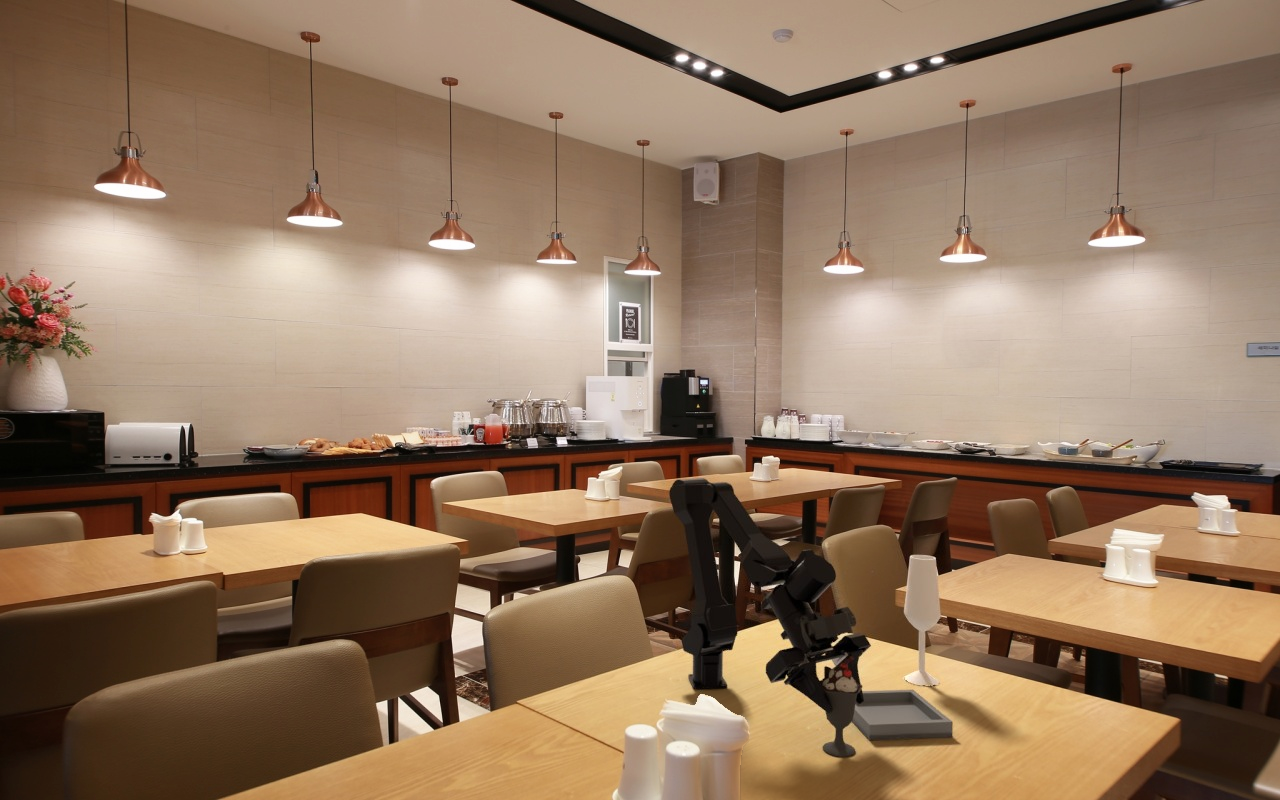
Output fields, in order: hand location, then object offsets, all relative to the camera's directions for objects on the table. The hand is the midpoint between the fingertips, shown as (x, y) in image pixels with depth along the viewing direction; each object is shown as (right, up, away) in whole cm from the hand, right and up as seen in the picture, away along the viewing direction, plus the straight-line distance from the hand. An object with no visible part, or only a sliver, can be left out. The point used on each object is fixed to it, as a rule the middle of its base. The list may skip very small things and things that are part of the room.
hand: (846, 707), depth 119 cm
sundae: (-1, -7, +1) cm, 7 cm away
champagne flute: (+23, -8, +32) cm, 40 cm away
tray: (+11, -7, +12) cm, 18 cm away
